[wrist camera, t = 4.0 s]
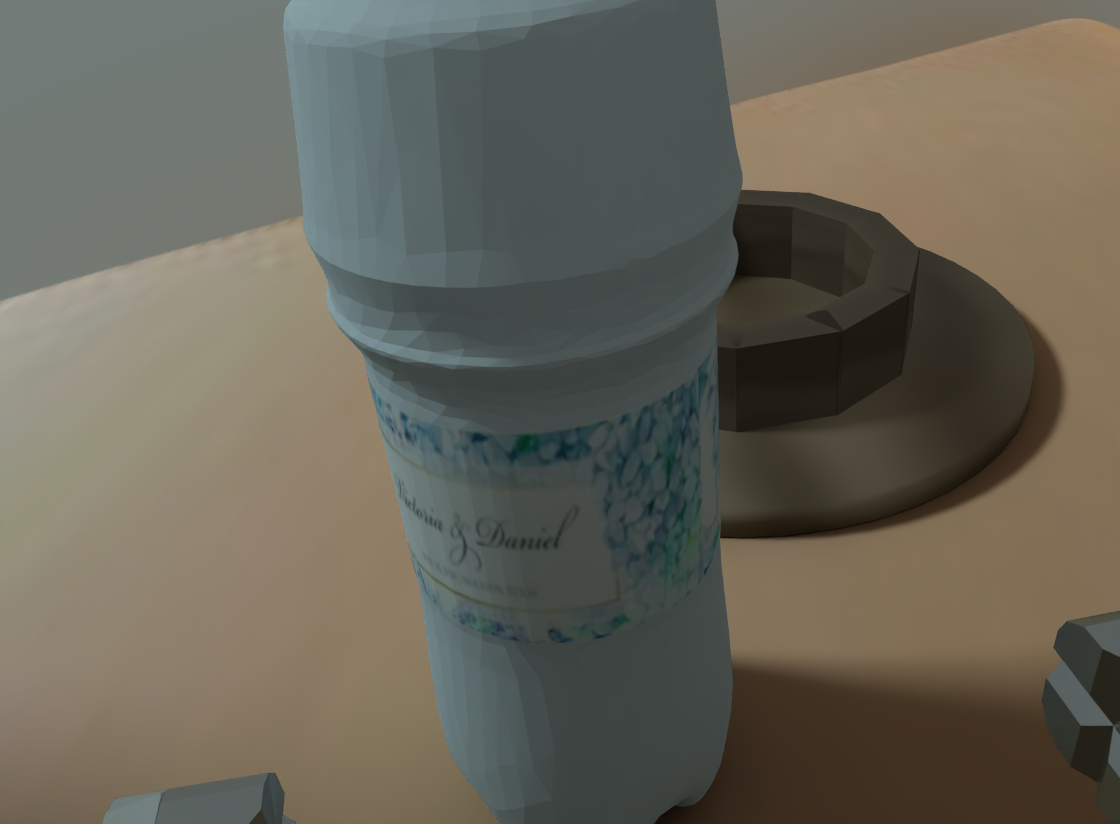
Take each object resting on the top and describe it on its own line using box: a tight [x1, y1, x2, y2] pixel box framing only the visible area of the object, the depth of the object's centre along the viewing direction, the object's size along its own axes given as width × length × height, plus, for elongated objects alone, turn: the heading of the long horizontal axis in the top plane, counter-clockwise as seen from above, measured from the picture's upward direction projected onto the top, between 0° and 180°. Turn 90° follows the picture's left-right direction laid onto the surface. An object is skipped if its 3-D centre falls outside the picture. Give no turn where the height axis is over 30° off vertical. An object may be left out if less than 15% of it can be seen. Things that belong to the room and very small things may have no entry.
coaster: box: [716, 190, 1035, 538], centre depth 36 cm, size 20×20×4 cm
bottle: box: [284, 0, 743, 824], centre depth 18 cm, size 7×7×20 cm
